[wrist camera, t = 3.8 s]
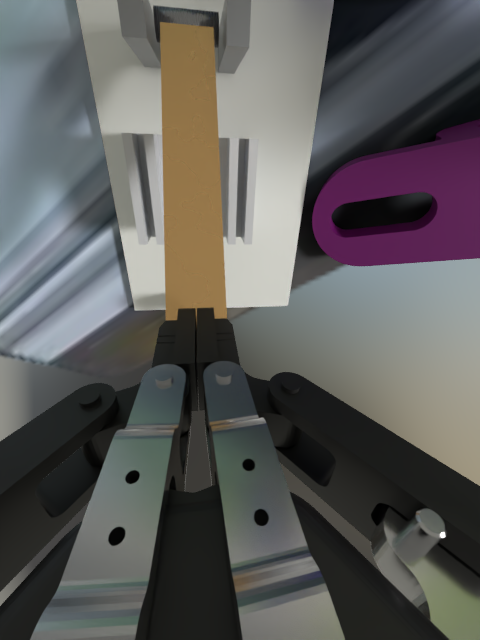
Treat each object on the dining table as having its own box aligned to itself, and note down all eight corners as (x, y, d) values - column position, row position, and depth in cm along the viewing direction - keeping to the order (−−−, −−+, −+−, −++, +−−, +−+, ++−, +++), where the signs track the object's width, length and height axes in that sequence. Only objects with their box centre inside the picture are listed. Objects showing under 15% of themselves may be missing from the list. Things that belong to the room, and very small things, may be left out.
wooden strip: (157, 27, 16) (152, -3, 15) (217, 33, 16) (218, 4, 15) (163, 358, 14) (158, 358, 12) (232, 354, 14) (235, 354, 13)
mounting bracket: (323, 238, 36) (505, 218, 29) (316, 269, 29) (546, 253, 23) (317, 154, 30) (538, 106, 24) (307, 170, 24) (604, 111, 17)
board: (334, -33, 19) (409, -125, 12) (286, 302, 33) (308, 343, 26) (66, -69, 17) (-19, -203, 10) (136, 306, 31) (119, 353, 24)
